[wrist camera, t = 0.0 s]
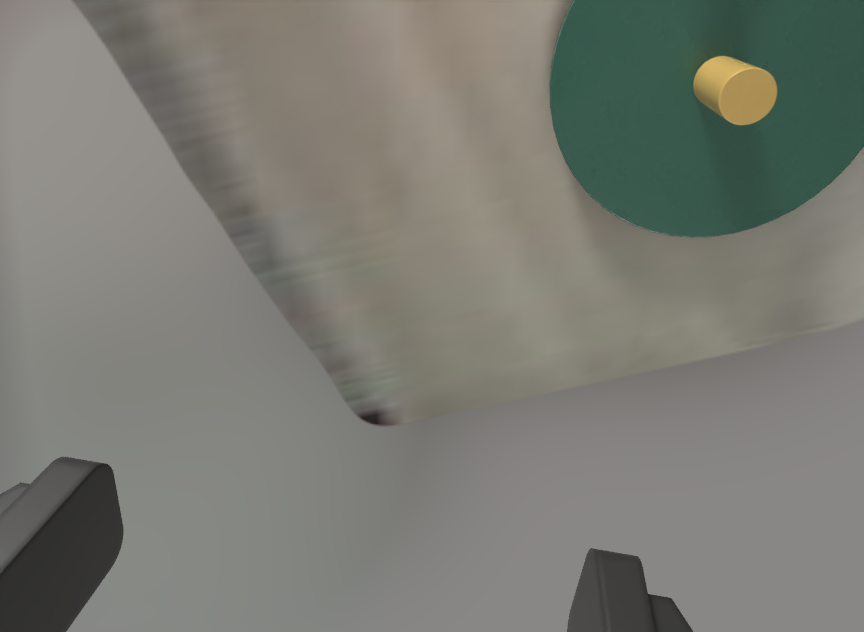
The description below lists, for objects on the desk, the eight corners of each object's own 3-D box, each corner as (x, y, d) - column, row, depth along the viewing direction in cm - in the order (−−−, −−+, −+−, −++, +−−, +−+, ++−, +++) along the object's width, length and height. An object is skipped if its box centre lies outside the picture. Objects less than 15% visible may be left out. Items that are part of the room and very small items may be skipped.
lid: (584, -131, 30) (597, -155, 25) (956, -95, 29) (1056, -112, 23) (525, 209, 38) (525, 248, 32) (816, 249, 37) (866, 295, 31)
